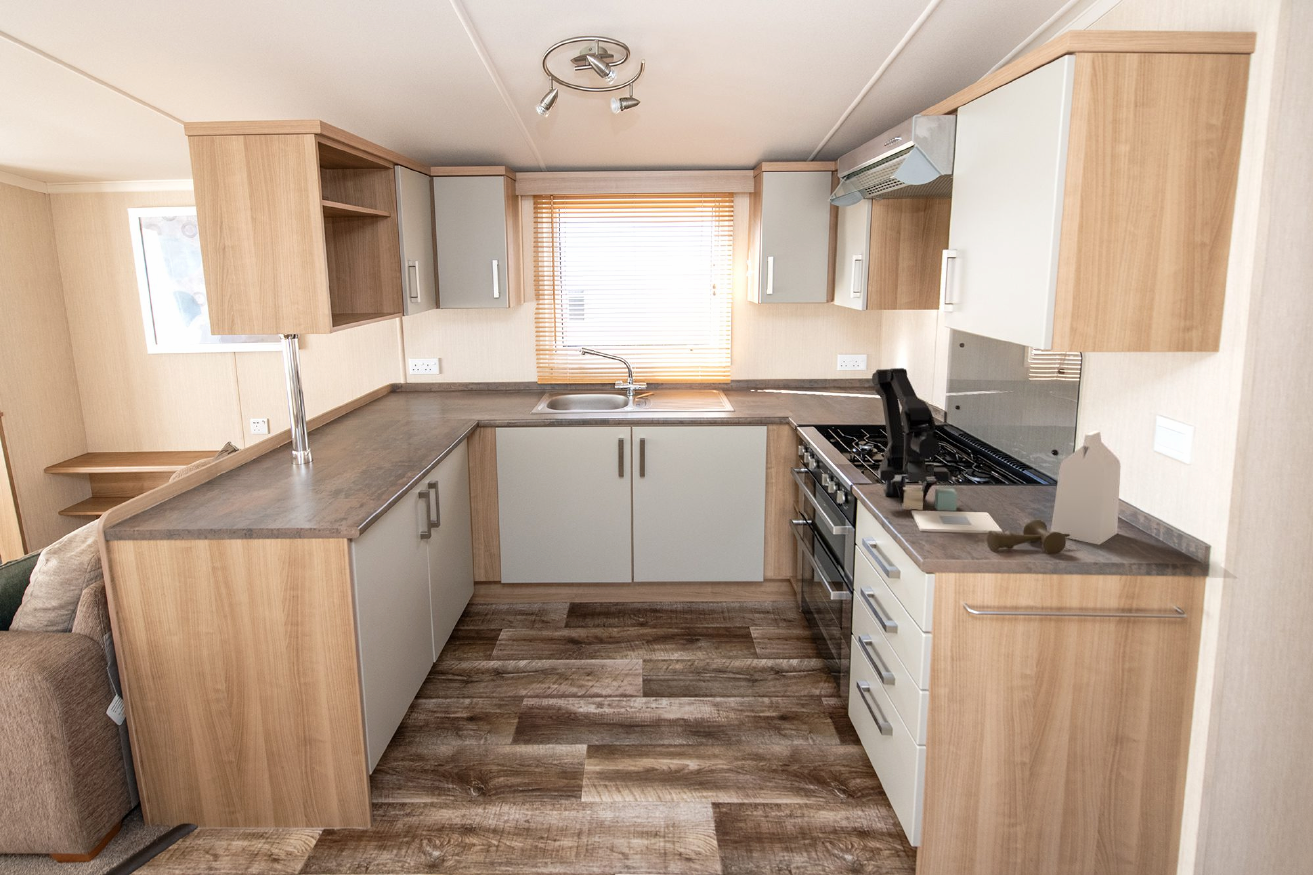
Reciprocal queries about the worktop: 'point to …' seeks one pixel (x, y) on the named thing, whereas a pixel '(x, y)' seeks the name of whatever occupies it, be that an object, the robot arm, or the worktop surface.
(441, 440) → the worktop surface
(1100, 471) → the milk
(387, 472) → the worktop surface
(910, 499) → the birch block
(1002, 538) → the kendama
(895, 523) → the worktop surface
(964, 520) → the baseplate
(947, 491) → the teal block
